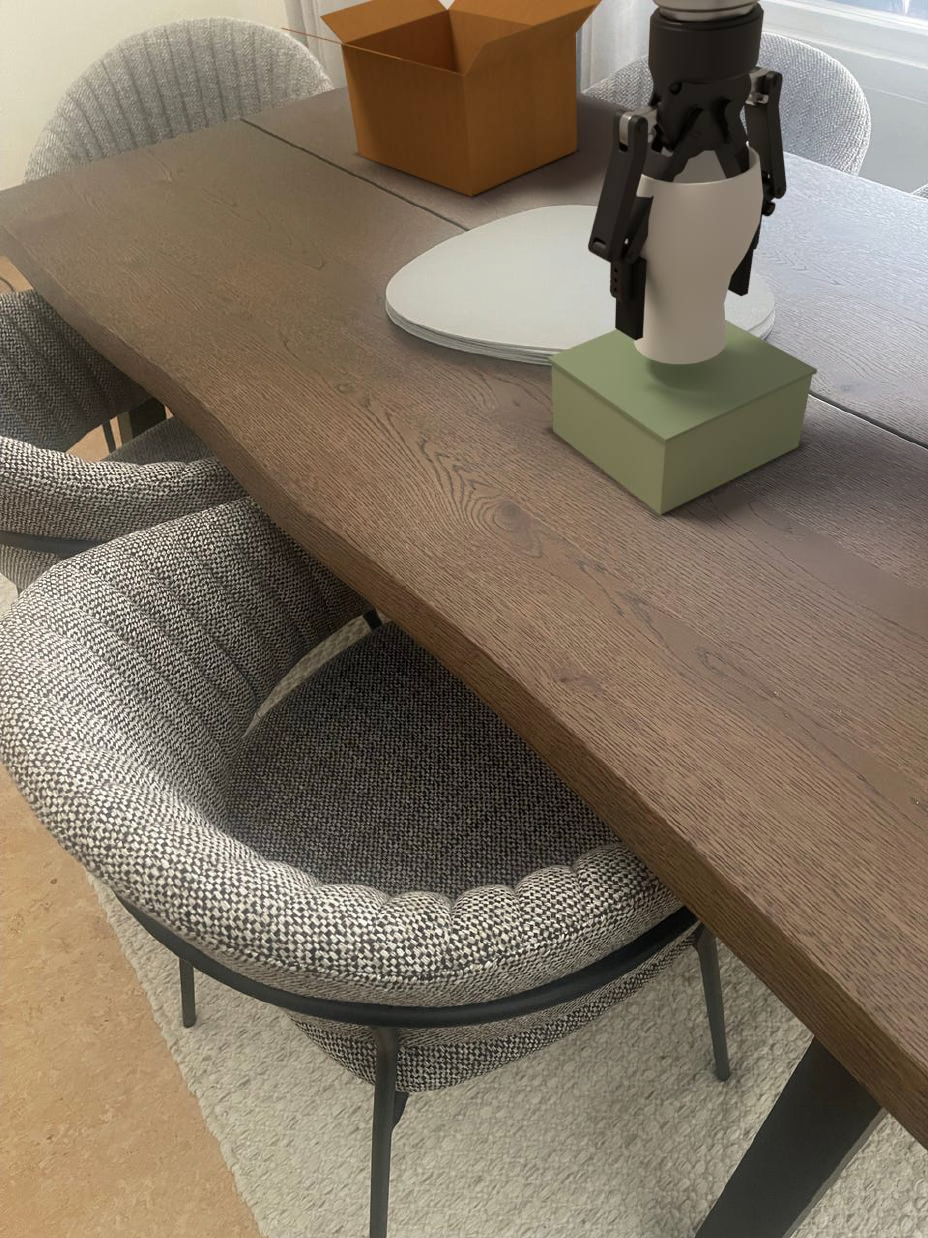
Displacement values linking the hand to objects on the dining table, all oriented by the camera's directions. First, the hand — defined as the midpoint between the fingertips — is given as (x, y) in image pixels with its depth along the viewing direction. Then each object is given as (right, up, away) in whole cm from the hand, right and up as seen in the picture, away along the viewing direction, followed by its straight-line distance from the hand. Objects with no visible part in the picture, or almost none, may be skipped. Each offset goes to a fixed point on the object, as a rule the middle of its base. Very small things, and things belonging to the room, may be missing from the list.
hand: (682, 310), depth 78 cm
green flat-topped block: (+1, -9, +9) cm, 13 cm away
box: (-19, +46, +66) cm, 83 cm away
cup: (0, -2, +2) cm, 3 cm away
